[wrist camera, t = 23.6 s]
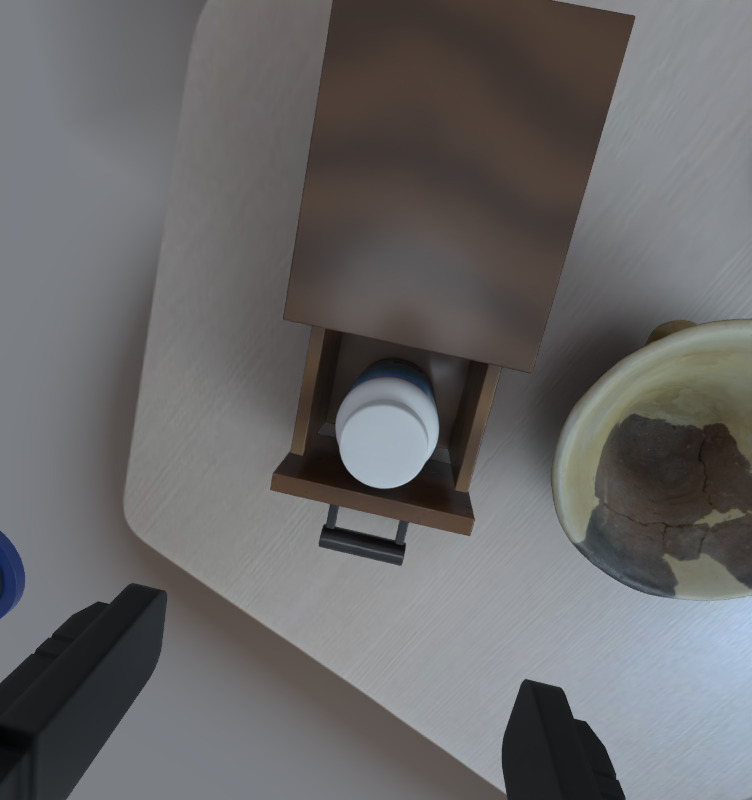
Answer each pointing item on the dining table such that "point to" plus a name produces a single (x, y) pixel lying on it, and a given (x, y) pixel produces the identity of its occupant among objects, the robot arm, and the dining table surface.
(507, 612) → the dining table surface
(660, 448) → the bowl
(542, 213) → the cabinet
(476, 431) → the drawer
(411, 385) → the pill bottle
